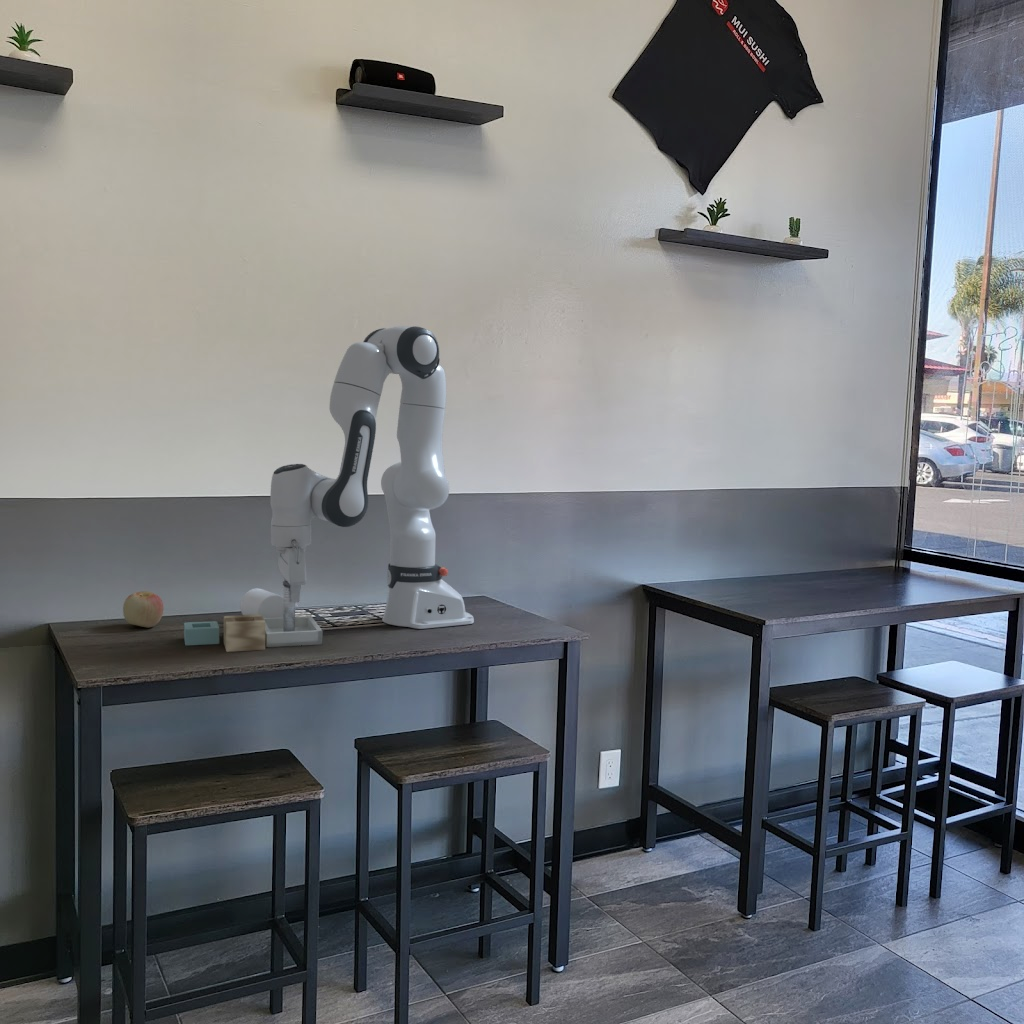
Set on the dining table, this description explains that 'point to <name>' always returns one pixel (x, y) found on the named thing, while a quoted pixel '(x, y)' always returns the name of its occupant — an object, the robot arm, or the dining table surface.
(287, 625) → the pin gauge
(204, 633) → the stand
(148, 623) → the apple
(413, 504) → the robot arm
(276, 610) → the mug
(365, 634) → the dining table surface
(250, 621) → the beech block
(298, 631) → the tray
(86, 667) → the dining table surface
